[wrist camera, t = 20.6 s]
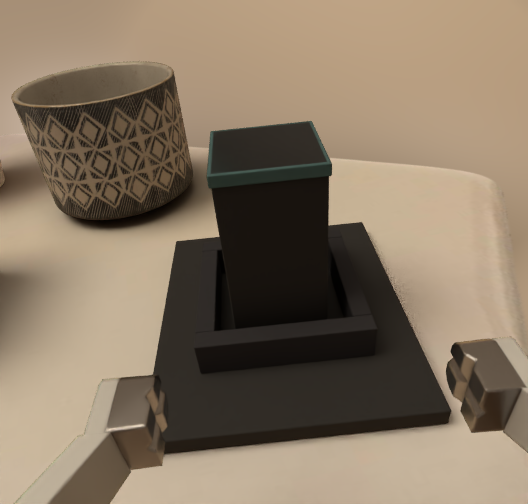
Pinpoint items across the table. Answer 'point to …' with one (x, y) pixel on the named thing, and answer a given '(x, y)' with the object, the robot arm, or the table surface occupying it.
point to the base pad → (290, 356)
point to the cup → (1, 175)
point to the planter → (108, 138)
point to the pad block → (272, 221)
